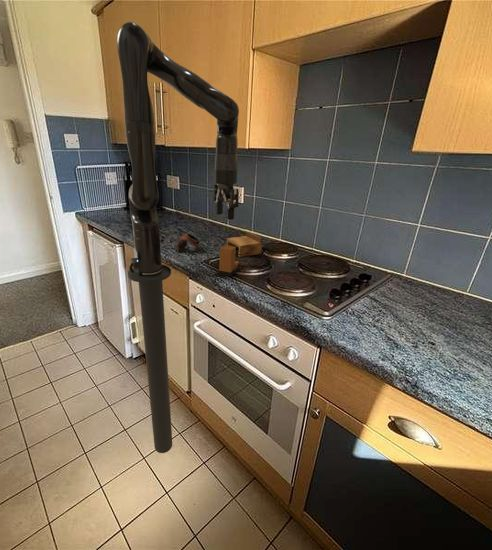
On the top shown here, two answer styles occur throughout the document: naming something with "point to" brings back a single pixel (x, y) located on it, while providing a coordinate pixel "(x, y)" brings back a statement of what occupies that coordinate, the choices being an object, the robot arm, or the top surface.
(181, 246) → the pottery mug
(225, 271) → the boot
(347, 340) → the top surface
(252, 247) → the tan wooden block
